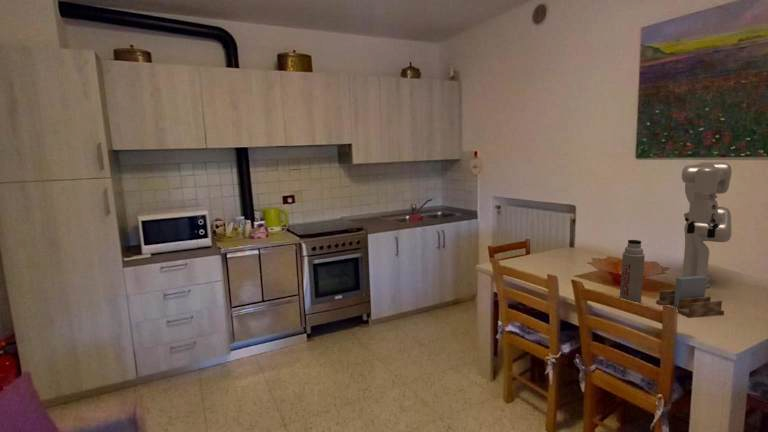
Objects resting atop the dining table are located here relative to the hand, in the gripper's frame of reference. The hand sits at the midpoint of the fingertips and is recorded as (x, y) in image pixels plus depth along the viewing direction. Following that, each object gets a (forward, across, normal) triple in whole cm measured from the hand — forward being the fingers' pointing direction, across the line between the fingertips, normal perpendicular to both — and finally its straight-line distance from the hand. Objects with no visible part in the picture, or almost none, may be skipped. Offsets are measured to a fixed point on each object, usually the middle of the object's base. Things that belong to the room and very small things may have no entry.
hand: (700, 235), depth 178 cm
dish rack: (+28, -11, +14) cm, 33 cm away
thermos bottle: (+28, -1, +33) cm, 44 cm away
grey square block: (+27, -11, +14) cm, 32 cm away
